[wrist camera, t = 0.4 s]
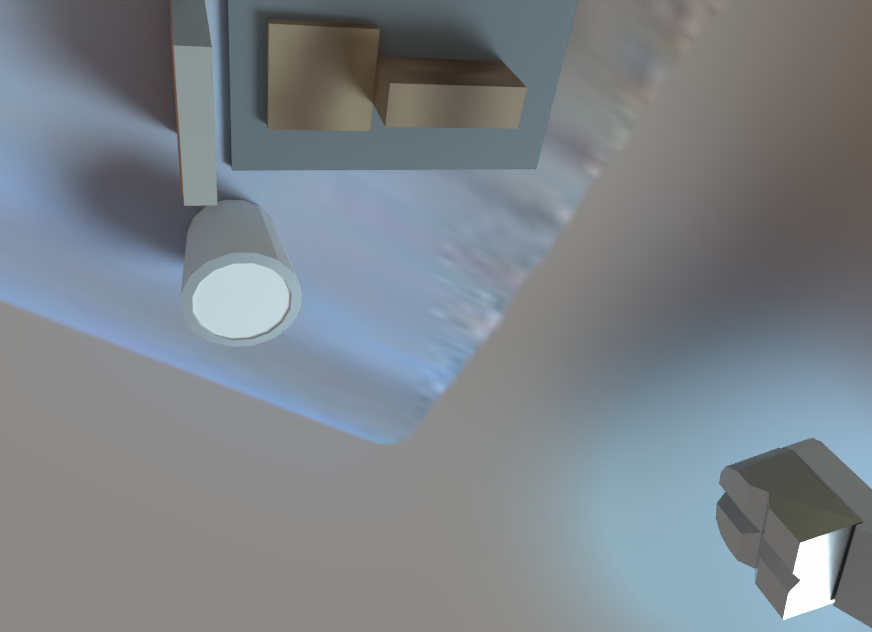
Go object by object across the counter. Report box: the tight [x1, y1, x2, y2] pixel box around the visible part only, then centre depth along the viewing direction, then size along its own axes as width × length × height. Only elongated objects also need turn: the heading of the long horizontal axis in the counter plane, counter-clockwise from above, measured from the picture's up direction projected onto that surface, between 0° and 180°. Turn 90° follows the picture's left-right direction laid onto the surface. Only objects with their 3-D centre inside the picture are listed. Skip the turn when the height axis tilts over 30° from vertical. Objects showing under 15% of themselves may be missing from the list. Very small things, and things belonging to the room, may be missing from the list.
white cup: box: [181, 200, 302, 347], centre depth 46 cm, size 7×7×7 cm
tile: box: [169, 0, 218, 206], centre depth 38 cm, size 8×2×8 cm, turn 171°
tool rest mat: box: [227, 0, 578, 170], centre depth 45 cm, size 12×20×1 cm, turn 81°
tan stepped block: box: [266, 19, 527, 131], centre depth 43 cm, size 14×6×4 cm, turn 81°
